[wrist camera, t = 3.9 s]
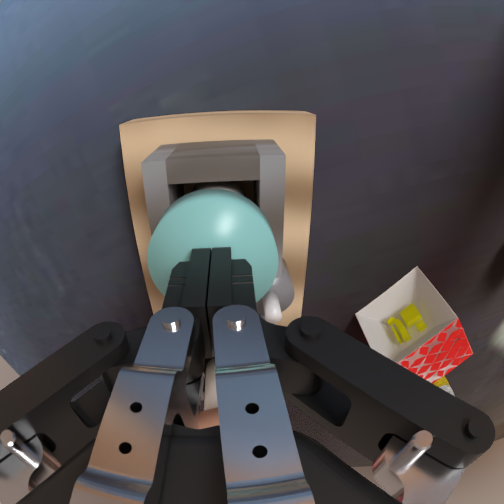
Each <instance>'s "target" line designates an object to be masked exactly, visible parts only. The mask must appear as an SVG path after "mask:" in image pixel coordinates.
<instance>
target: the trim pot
mask: <svg viewBox="0 0 504 504" xmlns="http://www.w3.org/2000/svg"><path fill="white" fill-rule="evenodd" d="M293 299H294V288H293V285H292V281H291V278H290V274H289V271H288V268H287V264H286V262H285V260H284V259H283V258H282V275H281V278H275V280H274V282H273V284H272V286H271V287H270V289H269V290H268V292H267V293H266V294H265V295H264V296H263V297H262V298H261V299H260V300H259V301H257V302H256V308H257V312H258V314H261V315H265V319H266V321H267V322H269V323H272V324H273V323H277V322H279V321H280V320H281V319H282V314H281V312H283V311H284V310H286V309H287V308H288V307H289V306H290V305H291V303H292V302H293Z"/></svg>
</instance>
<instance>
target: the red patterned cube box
mask: <svg viewBox="0 0 504 504" xmlns="http://www.w3.org/2000/svg"><path fill="white" fill-rule="evenodd" d="M355 315H356V318H357V320H358V322H359V324H360V326H361V328H362V331H363V333H364V335H365V337H366V340H367V341H368V344H369V346H370V348H372V349H373V350H375V351H377V352H379V353H380V354H382V355H384V356H385V357H387V358H389V359H391V360H392V361H394V362H396V363H397V364H399V365H401V366H403V367H404V368H406V369H408V370H410V371H411V372H413V373H415V374H417V375H418V376H420V377H422V378H424V379H425V380H427V381H429V382H431V383H432V384H433V383H434V382H436V381H437V380H439V379H440V378H442V377H443V376H444V375H446V374H447V373H448V372H450V371H451V370H453V369H454V368H455V367H456V366H458V365H459V364H460V363H462V362H463V361H464V360H466V359H467V358H468V357H469V356H471V355H472V354H473V352H472V350H471V347H470V345H469V342H468V340H467V337H466V335H465V332H464V330H463V328H462V326H461V323H460V321H459V319H458V317H457V316H456V314H455V313H454V312H453V310H452V309H451V308H450V306H449V305H448V304H447V302H446V301H445V300H444V298H443V297H442V296H441V295H440V293H439V292H438V291H437V290H436V288H435V287H434V286H433V285H432V283H431V282H430V281H429V280H428V278H427V277H426V276H425V275H424V274H423V272H422V271H421V270H420V269H419V268H418V266H416V267H415V268H414V269H413V270H411V271H410V272H409V273H408V274H407V275H405V276H404V277H403V278H402V279H400V280H399V281H398V282H397V283H395V284H394V285H393V286H392V287H390V288H389V289H388V290H387V291H385V292H384V293H383V294H381V295H380V296H379V297H377V298H376V299H375V300H373V301H372V302H371V303H369V304H368V305H367V306H365V307H364V308H363V309H361V310H360V311H359V312H357V313H356V314H355Z"/></svg>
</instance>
